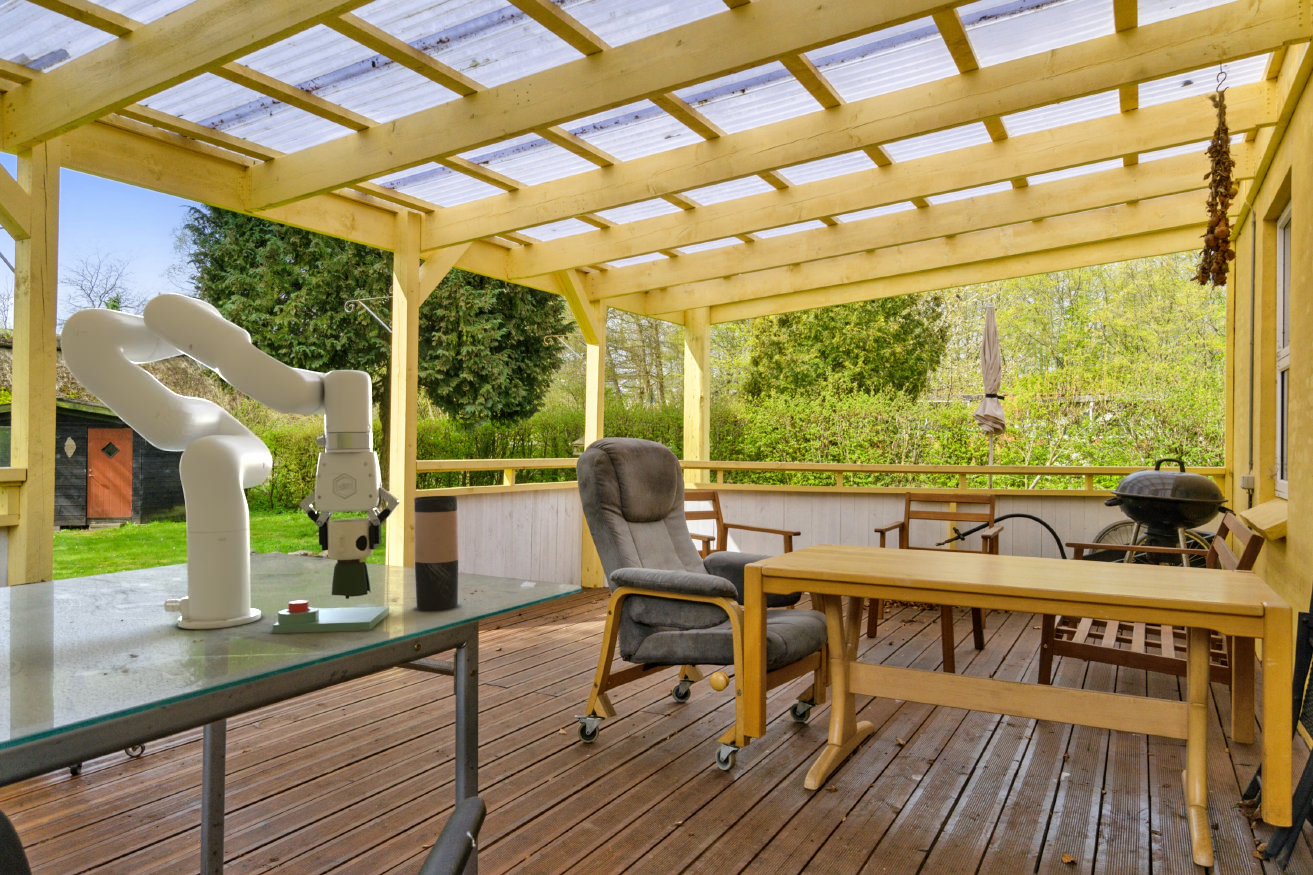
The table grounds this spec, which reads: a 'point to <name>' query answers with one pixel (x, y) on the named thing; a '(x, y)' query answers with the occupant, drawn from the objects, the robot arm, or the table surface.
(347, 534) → the character mug
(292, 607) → the button
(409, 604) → the table surface
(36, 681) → the table surface
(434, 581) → the travel mug
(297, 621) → the scale
